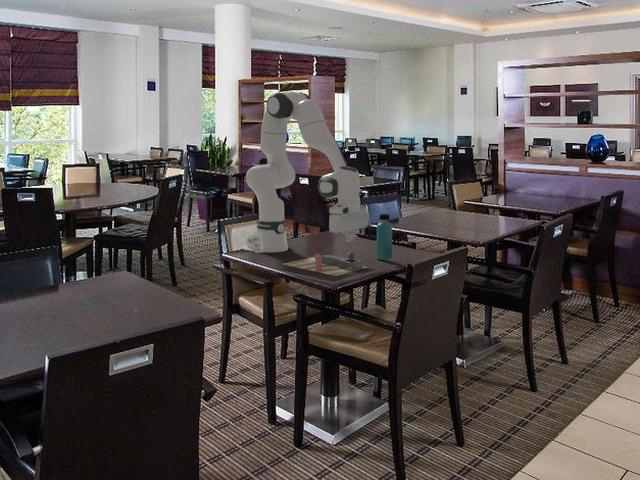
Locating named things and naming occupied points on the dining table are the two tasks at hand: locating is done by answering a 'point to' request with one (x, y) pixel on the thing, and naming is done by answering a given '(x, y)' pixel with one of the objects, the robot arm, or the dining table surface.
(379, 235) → the beverage bottle
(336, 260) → the link
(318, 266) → the keeper
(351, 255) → the pintle
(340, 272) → the base board
